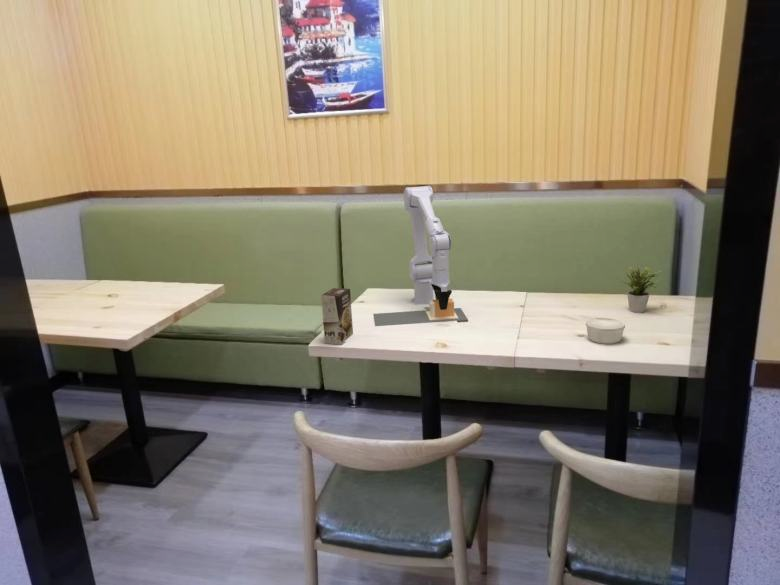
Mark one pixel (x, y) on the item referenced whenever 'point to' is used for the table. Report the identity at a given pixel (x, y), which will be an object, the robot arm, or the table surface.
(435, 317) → the pad
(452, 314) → the card box
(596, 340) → the ramekin
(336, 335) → the coffee box
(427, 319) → the mat
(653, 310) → the table surface
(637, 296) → the house plant
